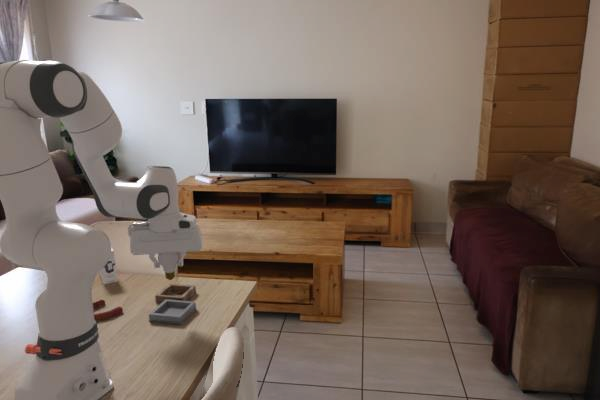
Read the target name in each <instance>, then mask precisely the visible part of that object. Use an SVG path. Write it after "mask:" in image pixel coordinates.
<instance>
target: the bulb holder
mask: <svg viewBox="0 0 600 400" xmlns="http://www.w3.org/2000/svg"><path fill="white" fill-rule="evenodd" d="M196 289H197V288H196V285H188V284H179V283H169V284H167V286H165V287H164V288H162V290H160V291H159V292H157V294H155V295H154V298H155V303H156V304H161V303H162V302H163V301H164V300H166V299H168V300H179V301H189V300H190V299H191V298H192V297H193V296H194V295H196V293H197V290H196ZM176 292H179V293H178V294H182V295H180V296H178V295H171V293H176Z"/></svg>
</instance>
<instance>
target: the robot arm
mask: <svg viewBox="0 0 600 400" xmlns="http://www.w3.org/2000/svg"><path fill="white" fill-rule="evenodd" d="M46 118H47V119H49V118H56V119H57V118H58V119H59V120H60V122H61V124H62V125H63V126H64V128H65V130H66V131H67V133H68V135H69V136H70V138H71V141H72V144H71V149H72V152H73V155H74V157H75V158H74V159H75V160H76V162H77V164H78V166H79V169H80V170H81V172H82V174H83V175H84V178H85V179H86V181H87V183H88V185H89V187H90V189H91V192H92V195H93V199H94V202H95V205H96V208H97V210H98V211H99V212H100V214H102V215H103V216H104V217H106V218H126V219H137V220H138V219H139V220H147V221H143V222H133V223H132V224H130V225H129V226H128V227H127V234H128V237H129V238H130V239H129V250H130V254H131V255H133V256H141V255H142V256H143V255H148V257H149V259H150V261H151V262H152V263H153V267H154V269H160V268H161V264H160V263H159V261H158V258H156V255H158V254H161V253H164V252H171V253H177V252H178V253H180V254H179V255H180V256H181V258H179V260H178V261H177V264H176V267H183V266H184V259H185V257H186V254H187V253H188V252H191V253H192V252H200V251H201V250H202V249H203V246H204V244H203V243H204V242H203V236H202V232H201V228H200V226H199V225H197V221H198V220H197V216H196V215H193V214H188V213H184V212H181V210H180V205H179V202H178V201H179V200H178V199H179V189H178V180H177V176H176V172H175V170H174V168H172V167H171V166H167V165H166V166H164V165H162V166H161V165H149V166H146V167H145V171H144V174H143V175H142V177H141V178H140V179H138V180H137V181H136V182H133V181H123V180H120V179H117V178H115V177H114V176H113V175H112V173H111V171H110V169H109V167H108V165H107V164H108V163H107V162H106V160H105V158H104V156H106V155H107V154H108V153H109V152H111V151H112V150H114V149H115V148H116V146H117V145H118V144H119V142H120V141H121V138H122V133H123V127H122V124H121V121H120V118H119V117H118V115H117V113H116V111H115V110H114V108H113V106H112V105H111V103H110V101H109V99H107V97H106V95H105V94H104V93H103V91H102V90H101V89H100V87H99V86H98V84H96V82H95V81H94V80H93V78H92V77H90V76H89V75H88V74H87V73H85V72H84V71H80V70H76V69H75V68H74V67H72V66H71V65H68V64H67V63H64V62H61V61H54V60H45V61H42V60H40V61H39V60H30V59H29V60H28V59H21V60H14V61H13V60H11V61H8V62H4V61H3V62H0V202H1V204H2V207H3V211H4V214H5V215H4V216H5V222H6V223H5V225H6V226H5V227H6V228H5V229H4V230H3V232H2V234H1V237H0V252H1V253H2V255H3V256H4V257H5V259H6V260H8V261H10V262H11V263H14V264H16V265H18V266H20V267H23V268H26V269H30V270H36V271H42V272H45V274H46V277H47V283H46V284H47V285H46V289H45V290H43V291H42V292H41V293H40V294H39V295H38V297H37V299H36V300H35V304H34V305H35V312H36V318H37V324H38V331H39V333H38V336H37V341H36V344H32V343H28V344H27V345H25V348H24V353H25V354H26V355H30V354H31V355H35V356H34V358H33V359H32V361H31V362H30V364H29V366H28V368H27V369H26V370H25V373H24V374H23V376H22V377H21V379H20V380H19V382H18V384H17V385H16V388H15V390H14V400H99V399H101V398H102V397H103V396H105V395H106V394H107V393H108V392H109V391H112V389H113V388H114V386H115V385H114V383H113V380H112V379H111V378H110V376H111V375H110V371H109V369H108V368H107V364H106V359H105V357H104V353H103V350H102V348H101V346H100V343H99V340H98V339H99V337H100V334H99V327H98V323H97V322H96V320H95V319H94V314H95V313H94V310H93V303H94V302H93V286H94V282H95V279H96V277H97V275H98V273H99V272H100V271H101V270H102V269H103V268H104V267H105V266H106V264H107V262H108V261H109V258H110V255H111V247H112V245H111V244H112V243H111V239H110V238H109V236H108V235H107V234H106V232H105V231H103V230H101V229H99V228H97V227H94V226H91V225H89V224H85V223H80V222H72V221H71V222H70V221H63V220H62V219H61V218H59V216H58V213H57V210H56V209H57V208H56V204H57V203H58V201H59V200H60V199H61V198H62V195H63V193H64V187H63V184H62V182H61V179H60V176H59V174H58V171H57V169H56V166H55V164H54V162H53V161H54V160H53V159H52V157H51V154H50V152H49V149H48V147H47V145H46V143H45V140H44V138H43V136H42V131H41V130H42V129H41V123H42V119H46Z"/></svg>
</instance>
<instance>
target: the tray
mask: <svg viewBox="0 0 600 400" xmlns="http://www.w3.org/2000/svg"><path fill="white" fill-rule="evenodd" d="M196 310H197V306H196V301H189V300H188V301H179V300H168V299H166V300H164V301H163V302H162V303H159V305H157V306H156V307H155V308H154V309H153V310H152V311H150V313H148V320H149V323H156V324H165V325H167V324H168V325H174V326H175V325H178V326H182V324H183V323H184V322H186V320H187V319H189V318H190V317H191V315H192V314H193V313H194V312H195V311H196Z"/></svg>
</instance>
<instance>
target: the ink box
mask: <svg viewBox="0 0 600 400" xmlns="http://www.w3.org/2000/svg"><path fill="white" fill-rule="evenodd" d="M98 273H99V278H100V280H101V282H102V284H103V285H108V284H113V283H117V282H118V274H117V266H116V257H115V251H114V248H113V247H112V246H111V255H110V258H109V261H108V262H107V264H106V266H105V267H104V268H103V269H102V270H101V271H100V272H98Z"/></svg>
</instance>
